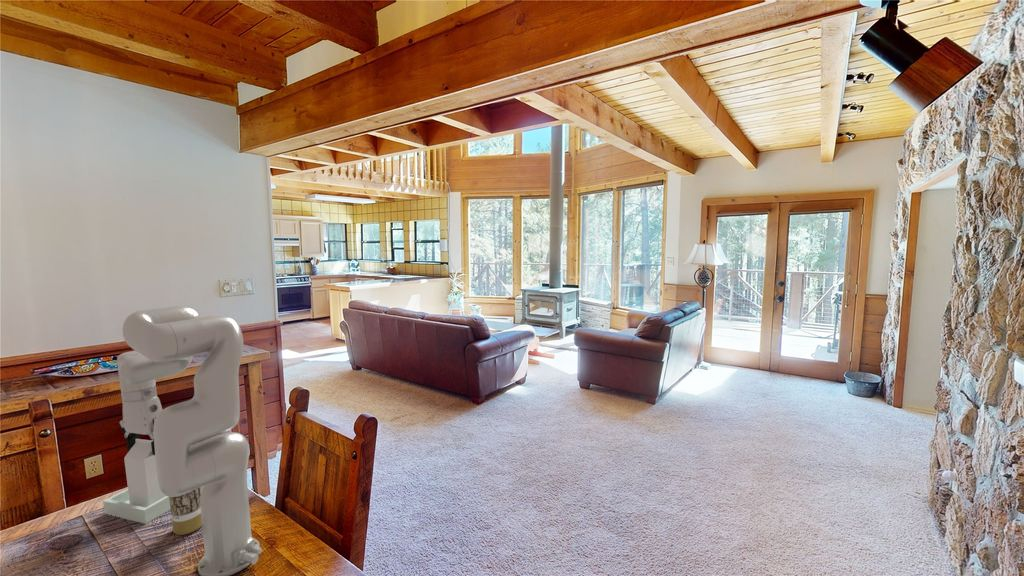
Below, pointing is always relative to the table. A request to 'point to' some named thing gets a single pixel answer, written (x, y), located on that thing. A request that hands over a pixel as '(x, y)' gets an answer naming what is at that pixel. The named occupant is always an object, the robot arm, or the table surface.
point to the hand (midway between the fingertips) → (146, 450)
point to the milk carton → (142, 475)
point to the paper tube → (186, 512)
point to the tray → (134, 508)
